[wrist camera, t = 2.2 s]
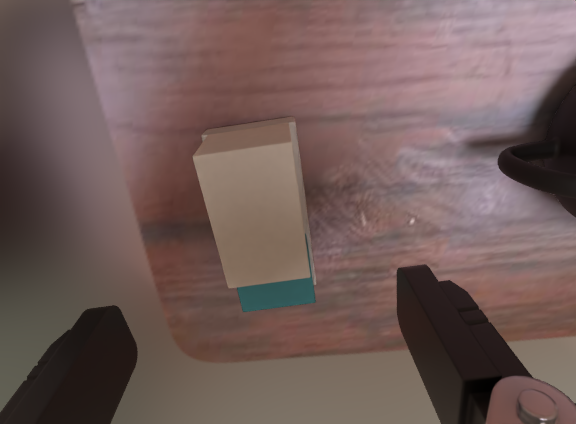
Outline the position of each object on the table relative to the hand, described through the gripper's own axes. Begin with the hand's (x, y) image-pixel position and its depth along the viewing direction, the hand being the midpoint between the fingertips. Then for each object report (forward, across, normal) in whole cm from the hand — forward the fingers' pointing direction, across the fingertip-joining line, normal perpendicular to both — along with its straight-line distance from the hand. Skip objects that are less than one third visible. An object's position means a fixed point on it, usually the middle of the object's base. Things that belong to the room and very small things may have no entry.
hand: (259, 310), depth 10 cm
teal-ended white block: (+9, 0, 0) cm, 9 cm away
